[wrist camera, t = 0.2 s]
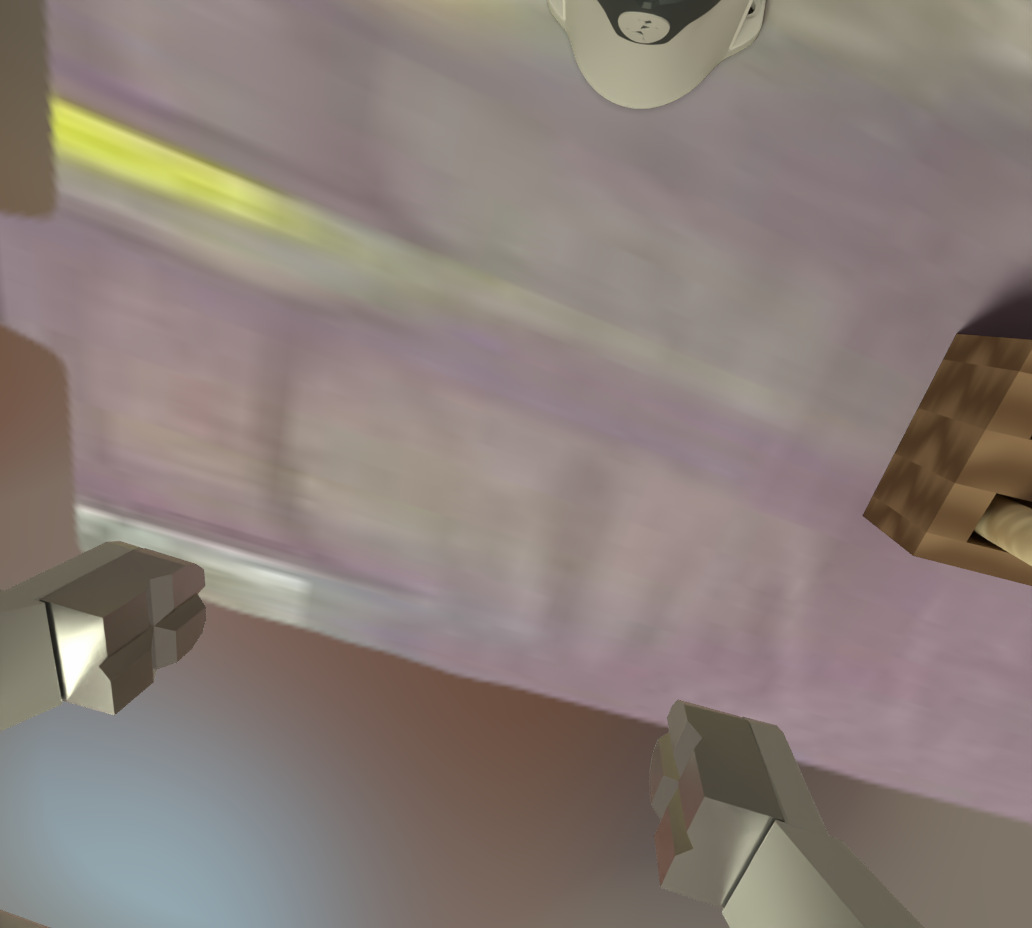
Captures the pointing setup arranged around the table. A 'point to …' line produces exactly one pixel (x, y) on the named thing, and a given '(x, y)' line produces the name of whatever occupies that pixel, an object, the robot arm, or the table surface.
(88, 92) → the table surface
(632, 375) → the table surface
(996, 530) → the peg
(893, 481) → the socket block
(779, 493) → the table surface
